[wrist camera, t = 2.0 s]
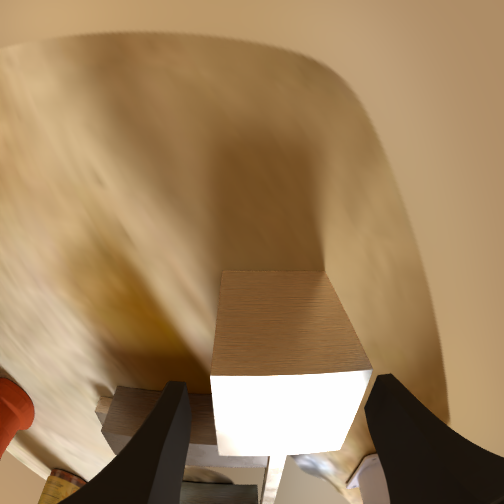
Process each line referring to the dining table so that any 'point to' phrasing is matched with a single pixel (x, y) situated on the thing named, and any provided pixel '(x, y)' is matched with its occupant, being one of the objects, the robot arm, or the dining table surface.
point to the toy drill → (13, 412)
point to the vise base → (201, 438)
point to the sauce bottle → (60, 486)
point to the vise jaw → (218, 494)
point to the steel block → (284, 365)
